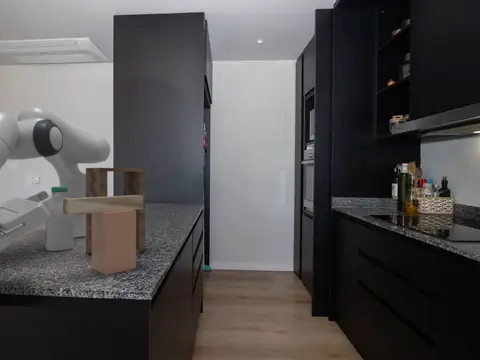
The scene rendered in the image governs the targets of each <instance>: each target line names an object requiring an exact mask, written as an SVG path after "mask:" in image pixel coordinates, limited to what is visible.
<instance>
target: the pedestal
mask: <svg viewBox="0 0 480 360" xmlns="http://www.w3.org/2000/svg"><path fill="white" fill-rule="evenodd" d="M136 268H137V254H136V210H123V211H110V212H98V213H92V257H91V269H93V270H94V271H96V272H98V273H100V274H103V275H105V276H107V275H112V274H118V273H121V272H125V271H129V270H134V269H136Z"/></svg>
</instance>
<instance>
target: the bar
mask: <svg viewBox="0 0 480 360" xmlns="http://www.w3.org/2000/svg"><path fill="white" fill-rule="evenodd" d="M135 209H143V196H140V195H129V196H123V195H112V196H108V197H89V198H68V199H63V214H67V215H74V214H86V213H98V212H110V211H123V210H135Z"/></svg>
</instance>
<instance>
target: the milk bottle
mask: <svg viewBox="0 0 480 360" xmlns="http://www.w3.org/2000/svg"><path fill="white" fill-rule="evenodd" d="M50 190H51V196H52V195H54V194H55V193H60V194H61V195H62V196H63V199H68V198H67V191H68V188H67V187H60V186H52V187H51V188H50ZM49 213H50V214H51V217H50V219H49V220H47V221H46V222H45V249H46V251H49V252H60V251H68V250H71V249H73V248H74V237H73V215H67V214H63V201H61V202H59V203H58V204H56V205H55V206H54V207H53V208H52V209H51V210H50V211H49Z"/></svg>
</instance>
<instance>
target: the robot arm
mask: <svg viewBox="0 0 480 360" xmlns="http://www.w3.org/2000/svg"><path fill="white" fill-rule="evenodd" d="M110 154H111V147H110V144H109V142H108V140H107V139H106V138H105V137H103V136H98V135H95V134H91V133H88V132H86V131H83V130H81V129H78V128H75V127H74V126H71V125H70V124H68V123H66V122H65V120H63V119H62V118H60V117H59V116H58V115H56V114H54V113H53V112H51V111H49V110H48V109H45V108H42V107H41V106H36V105H35V106H34V105H31V106H27V107H25V108H23V109H22V110H21V111H20V112H19V113H18V116H17V119H15V117H13V116H11V115H10V114H9V113H6V112H3V111H0V170H1V169H2V167H4V165H5V164H6V162H7V161H8V160H11V161H12V160H13V161H14V160H21V161H22V160H30V159H31V160H32V159H36V158H42V157H43V158H44V160H46V161H47V162H48V163H49V164H50V165H51V166H52V167H53V168H54V170H55V172H56V173H57V175H58V176H57V177H58V180H59V187H67V188H68V191H67V198H86V173H85V172H82V171H81V170H80V169H79V165H78V164H98V163H103V162H105V161H107V159H108V158H109V156H110ZM61 201H63V196H62V195H61V194H60V193H55V194H54V195H52V194H51V195H49V193H48V192H47V191H45V190H41V191H40V192H38V193H36V194H35V193H34V194H33V195H30V196H28V197H25V198H21V197H14V198H11V199H7V200H5V201H4V202H1V203H0V251H2V250H3V249H6V248H7V247H8V246H10V245H11V243H12V242H11V240H10V238H18V237H20V236H23V235H24V234H27V233H29V232H30V231H32V230H33V229H35V228H37V227H39V226H40V225H43V224H44V223H46V221H47V220H49V219H50V217H51V214H50V213H49V211H50V210H51V209H52V208H53V207H54V206H55V205H56V204H58V203H59V202H61ZM82 237H86V214H74V215H73V238H82Z"/></svg>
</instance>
